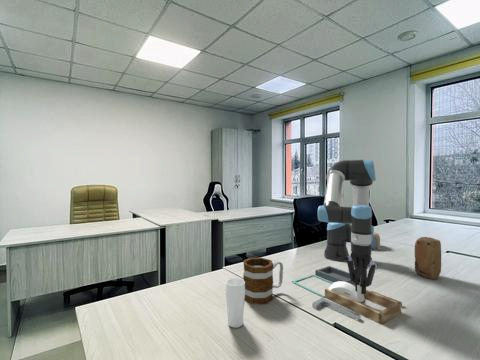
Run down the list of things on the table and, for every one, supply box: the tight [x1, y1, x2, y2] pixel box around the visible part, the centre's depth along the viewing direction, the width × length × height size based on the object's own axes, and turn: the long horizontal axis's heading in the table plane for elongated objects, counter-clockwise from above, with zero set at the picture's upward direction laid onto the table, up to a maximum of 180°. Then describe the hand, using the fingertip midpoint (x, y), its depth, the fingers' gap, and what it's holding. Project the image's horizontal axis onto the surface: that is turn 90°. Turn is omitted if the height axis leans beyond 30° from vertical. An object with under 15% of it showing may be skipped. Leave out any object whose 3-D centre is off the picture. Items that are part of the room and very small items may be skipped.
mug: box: [242, 257, 284, 305], centre depth 110 cm, size 20×14×15 cm
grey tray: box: [314, 265, 355, 285], centre depth 128 cm, size 17×11×3 cm, turn 34°
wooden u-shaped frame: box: [324, 284, 402, 325], centre depth 102 cm, size 24×14×4 cm, turn 34°
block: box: [414, 236, 442, 280], centre depth 132 cm, size 11×8×20 cm
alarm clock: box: [370, 231, 381, 251], centre depth 187 cm, size 19×20×12 cm
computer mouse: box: [328, 281, 359, 303], centre depth 109 cm, size 6×13×6 cm, turn 60°
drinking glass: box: [225, 277, 246, 329], centre depth 88 cm, size 7×7×15 cm
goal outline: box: [291, 274, 334, 299], centre depth 120 cm, size 19×16×1 cm
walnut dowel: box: [370, 290, 403, 307], centre depth 106 cm, size 12×2×2 cm
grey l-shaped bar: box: [312, 297, 361, 321], centre depth 96 cm, size 16×7×2 cm, turn 39°
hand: (360, 300), depth 103 cm, fingers closed
